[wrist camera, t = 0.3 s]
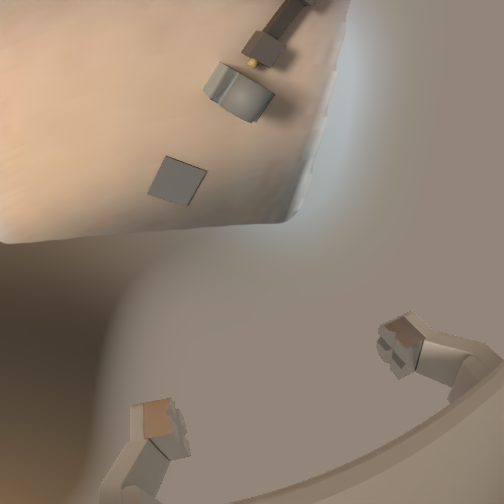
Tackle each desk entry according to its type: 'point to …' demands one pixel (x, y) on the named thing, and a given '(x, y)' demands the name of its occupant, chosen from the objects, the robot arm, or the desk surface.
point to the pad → (176, 181)
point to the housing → (238, 93)
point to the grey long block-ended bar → (273, 34)
